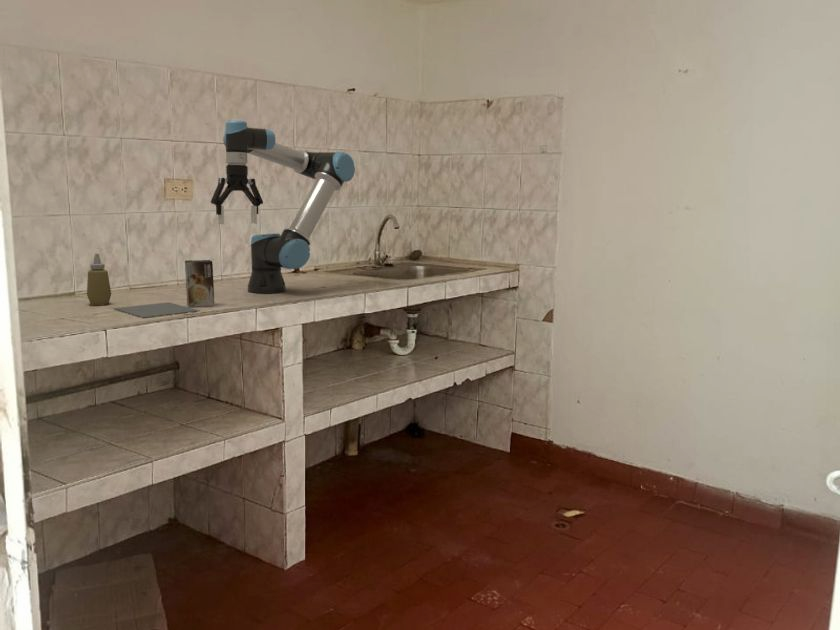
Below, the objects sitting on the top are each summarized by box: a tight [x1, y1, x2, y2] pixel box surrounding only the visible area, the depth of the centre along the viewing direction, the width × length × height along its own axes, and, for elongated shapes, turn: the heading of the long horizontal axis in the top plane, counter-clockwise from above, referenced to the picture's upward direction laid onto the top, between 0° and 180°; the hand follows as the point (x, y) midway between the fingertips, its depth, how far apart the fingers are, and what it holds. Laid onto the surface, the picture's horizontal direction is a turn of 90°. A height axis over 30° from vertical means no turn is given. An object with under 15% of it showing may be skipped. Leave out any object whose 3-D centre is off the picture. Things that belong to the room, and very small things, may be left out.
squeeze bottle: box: [86, 253, 112, 306], centre depth 263 cm, size 8×8×18 cm
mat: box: [113, 301, 201, 319], centre depth 255 cm, size 20×22×1 cm
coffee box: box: [184, 259, 215, 308], centre depth 265 cm, size 9×6×16 cm
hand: (237, 223), depth 272 cm, fingers open, 13 cm apart
